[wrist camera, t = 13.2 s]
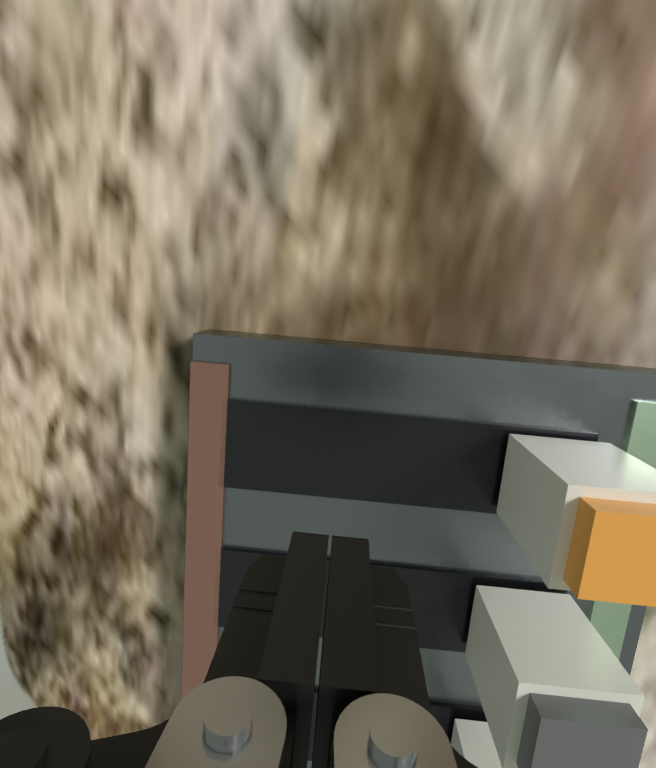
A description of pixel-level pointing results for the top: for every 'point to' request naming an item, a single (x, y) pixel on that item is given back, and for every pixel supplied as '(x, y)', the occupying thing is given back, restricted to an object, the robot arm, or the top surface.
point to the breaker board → (385, 478)
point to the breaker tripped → (582, 516)
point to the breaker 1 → (475, 743)
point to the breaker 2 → (551, 683)
